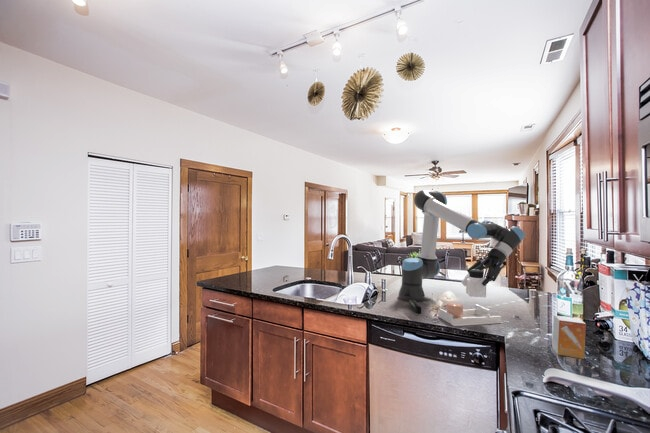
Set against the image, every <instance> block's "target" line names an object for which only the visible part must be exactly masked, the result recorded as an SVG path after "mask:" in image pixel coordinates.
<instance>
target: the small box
mask: <svg viewBox="0 0 650 433" xmlns="http://www.w3.org/2000/svg"><path fill="white" fill-rule="evenodd" d="M586 328H587V324H586V322H584V321H583V320H582V319H581V318H579V317H572V316H564V315H555V314H554V315H553V322H552V345H551V347H552V348H551V349H553V351H554V352H555V354H557V355H558V356H563V357H570V358H575V359H582V360H584V359H585V349H586Z"/></svg>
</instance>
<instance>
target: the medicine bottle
mask: <svg viewBox="0 0 650 433" xmlns="http://www.w3.org/2000/svg"><path fill="white" fill-rule="evenodd" d="M483 278H484V270H482V271H481V270H470V271H469V278H467V279H466V286H465V293H466V294H467V295H468V296H469V297H474V298H486V297H487V285H486V286H484V287H483V289H482V290H481V291H480V292H479V291H478V290H477V289H476V288H475V287H476V286H477V285H478V283H479V282H480V281H481V280H482V279H483Z"/></svg>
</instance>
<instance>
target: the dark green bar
mask: <svg viewBox="0 0 650 433" xmlns="http://www.w3.org/2000/svg"><path fill="white" fill-rule="evenodd" d="M407 307H408V308H410V309H411V311H413V312H414V313H415V314H419V315H420V314H422V307H421V305H419V303H418V302H416V301H415V300H413V299H410V300H409V301H408V304H407Z"/></svg>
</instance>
